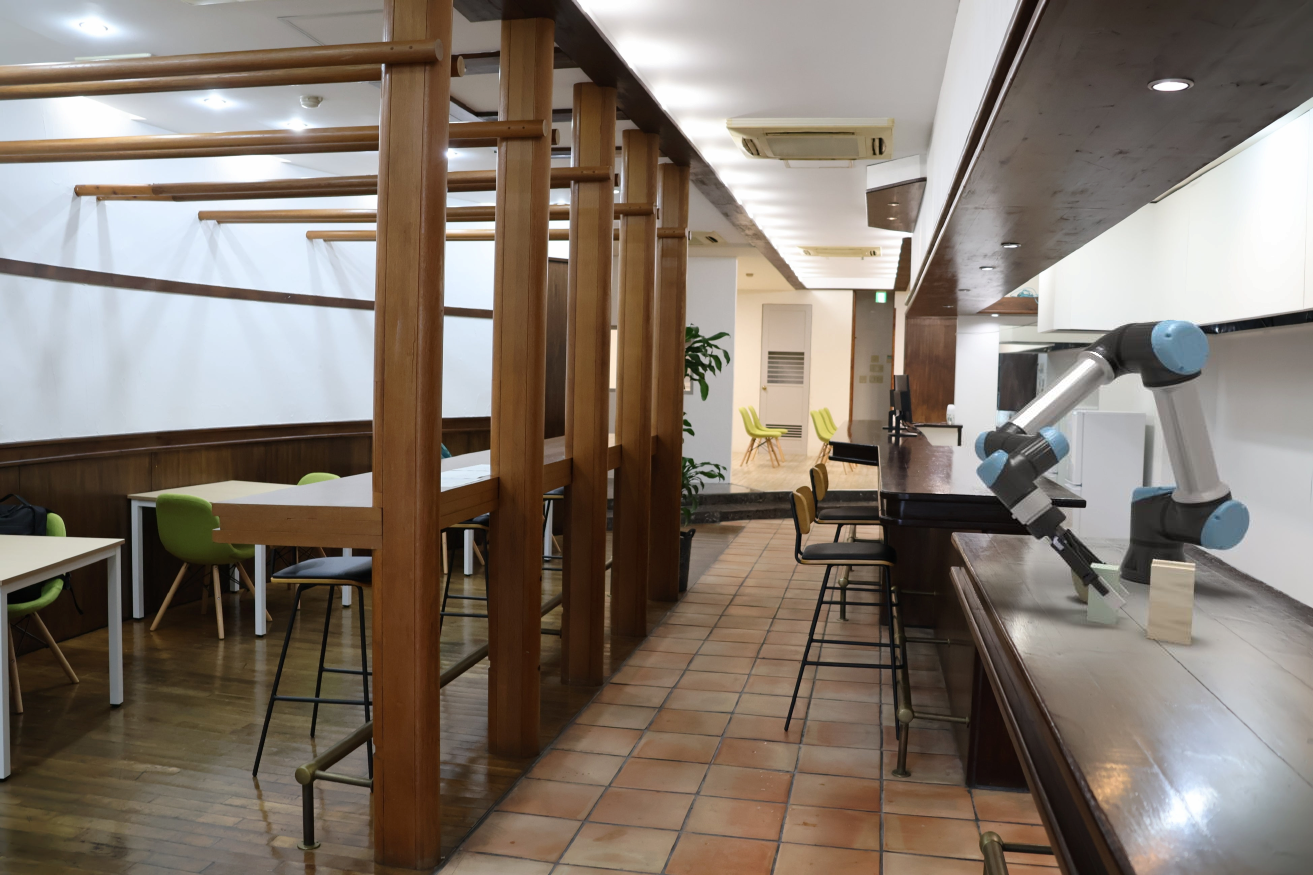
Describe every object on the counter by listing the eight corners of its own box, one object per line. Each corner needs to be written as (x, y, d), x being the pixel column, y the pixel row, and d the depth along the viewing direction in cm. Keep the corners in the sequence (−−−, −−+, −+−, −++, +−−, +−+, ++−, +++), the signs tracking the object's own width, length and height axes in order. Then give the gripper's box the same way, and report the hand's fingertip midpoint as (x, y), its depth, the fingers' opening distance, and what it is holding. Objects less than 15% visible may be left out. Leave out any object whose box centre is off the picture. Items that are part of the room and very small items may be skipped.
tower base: (1149, 629, 172) (1151, 594, 172) (1191, 635, 169) (1193, 599, 168) (1147, 638, 166) (1149, 602, 166) (1190, 645, 163) (1192, 607, 162)
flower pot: (1126, 608, 188) (1128, 575, 188) (1075, 605, 190) (1077, 572, 190) (1111, 597, 198) (1113, 566, 197) (1064, 594, 200) (1065, 563, 199)
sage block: (1089, 615, 182) (1092, 562, 182) (1116, 619, 180) (1119, 565, 179) (1086, 620, 178) (1089, 567, 177) (1114, 624, 175) (1117, 570, 175)
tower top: (1151, 594, 172) (1153, 559, 171) (1193, 599, 168) (1195, 563, 168) (1149, 602, 166) (1151, 565, 165) (1192, 607, 162) (1194, 570, 162)
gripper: (1033, 519, 195) (1111, 602, 187) (1015, 533, 177) (1100, 625, 170) (1060, 498, 192) (1140, 581, 184) (1045, 509, 174) (1133, 601, 166)
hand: (1121, 602), depth 177 cm, fingers open, 8 cm apart
